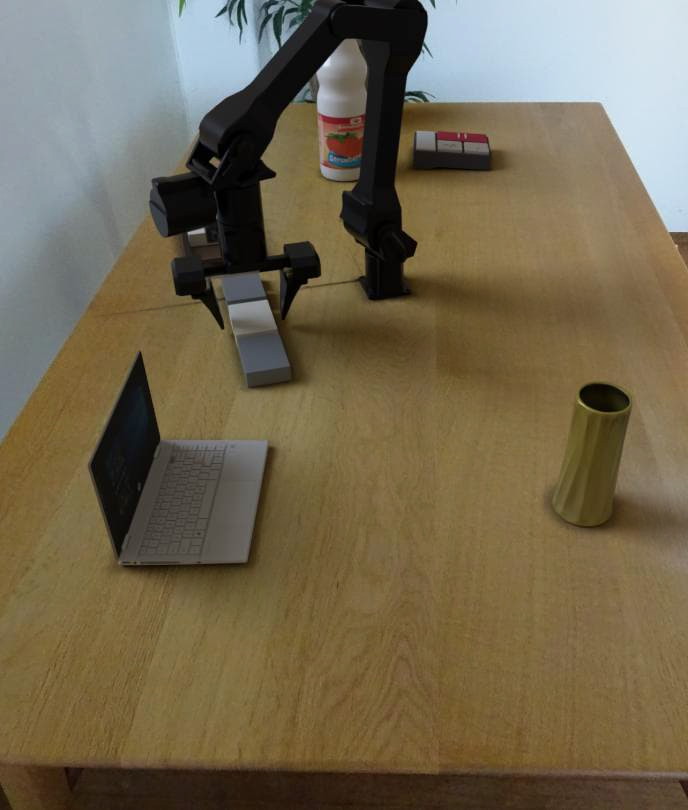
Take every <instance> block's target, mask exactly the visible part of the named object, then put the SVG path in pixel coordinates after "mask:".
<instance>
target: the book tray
mask: <svg viewBox="0 0 688 810" xmlns="http://www.w3.org/2000/svg"><path fill="white" fill-rule="evenodd" d="M177 239H178V244H179V249H180V254H181V257H187V256H194V255H201V260H202V264H203V265H204V264H211V263H219V262H223V258H222V257H221V255H220V250H219V244H212V245H204V246H196V247H190V243H189V238H188V233H183V234H179V235H177Z"/></svg>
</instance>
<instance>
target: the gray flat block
mask: <svg viewBox="0 0 688 810" xmlns="http://www.w3.org/2000/svg"><path fill="white" fill-rule="evenodd" d="M281 338H282V337H281V335H280V332H278V333H275V334H268V335H262V336H255V337H248V338H242V339H237V344H238V348H237V350H238V355H239V360H240V363H241V366H242V371H243V375H244V379H245V382H246V383H245V384H246V387H247V388H253V387H260V386H266V385H271V384H278V383H283V382H289V381H292V371H291V365H290V362H289V358H288V356H287V353H286V350H285V347H284V344H283V341H282V339H281ZM237 344H236V345H237Z"/></svg>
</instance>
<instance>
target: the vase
mask: <svg viewBox="0 0 688 810" xmlns="http://www.w3.org/2000/svg"><path fill="white" fill-rule="evenodd" d="M633 402H634V401H633V396H632V394H630V392H629V391H628V390H627V389H625V388H624V387H622V386H621V385H619V384H617V383H614V382H611V381H607V380H606V381H605V380H591V381H587V382H584V383H583V384H581V385H580V386H579V387H578V388H577V390H576V392H575V394H574V401H573V407H572V411H571V417H570V424H569V428H568V434H567V439H566V446H565V450H564V455H563V459H562V462H561V467H560V470H559V474H558V479H557V482H556V486H555V490H554V493H553V494H552V495H553V496H552V507H553V509H554V511H555V512H556V513H557V515H559V516H560V517H561V518H562V519H563V520H564V521H566V522H568V523H570V524H572V525H575V526H579V527H595V526H600V525H602V524H604V523H605V522H607V521H608V520H609V519H610V517H611V516H612V513H613V504H614V503H613V502H614V498H615V493H616V488H617V484H618V483H617V482H618V476H619V471H620V465H621V460H622V455H623V450H624V445H625V440H626V435H627V430H628V427H629V426H628V425H629V422H630V417H631V413H632V409H633Z"/></svg>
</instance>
